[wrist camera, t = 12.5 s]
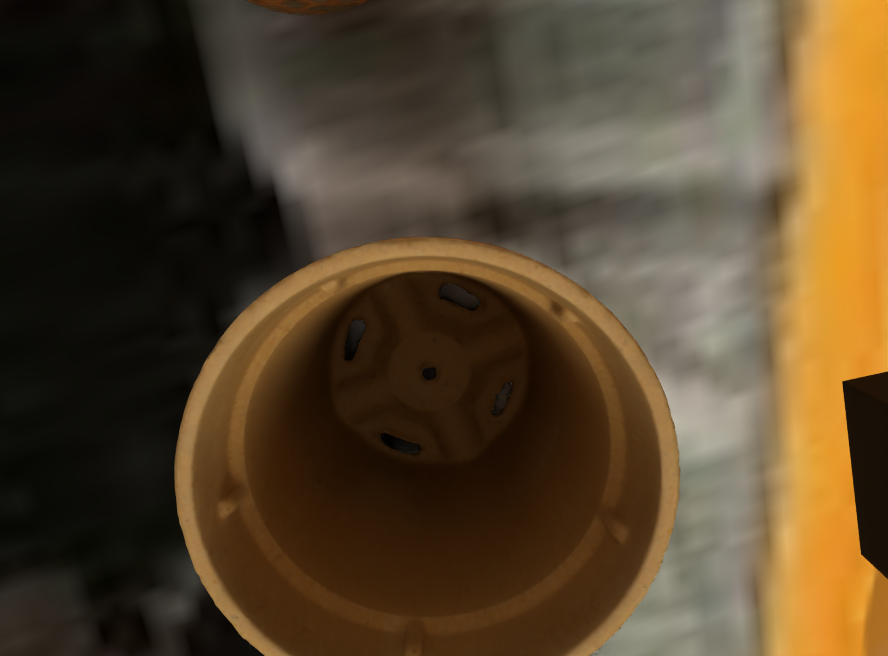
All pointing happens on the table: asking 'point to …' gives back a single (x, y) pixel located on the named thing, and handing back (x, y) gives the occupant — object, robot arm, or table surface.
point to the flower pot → (427, 461)
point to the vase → (307, 5)
